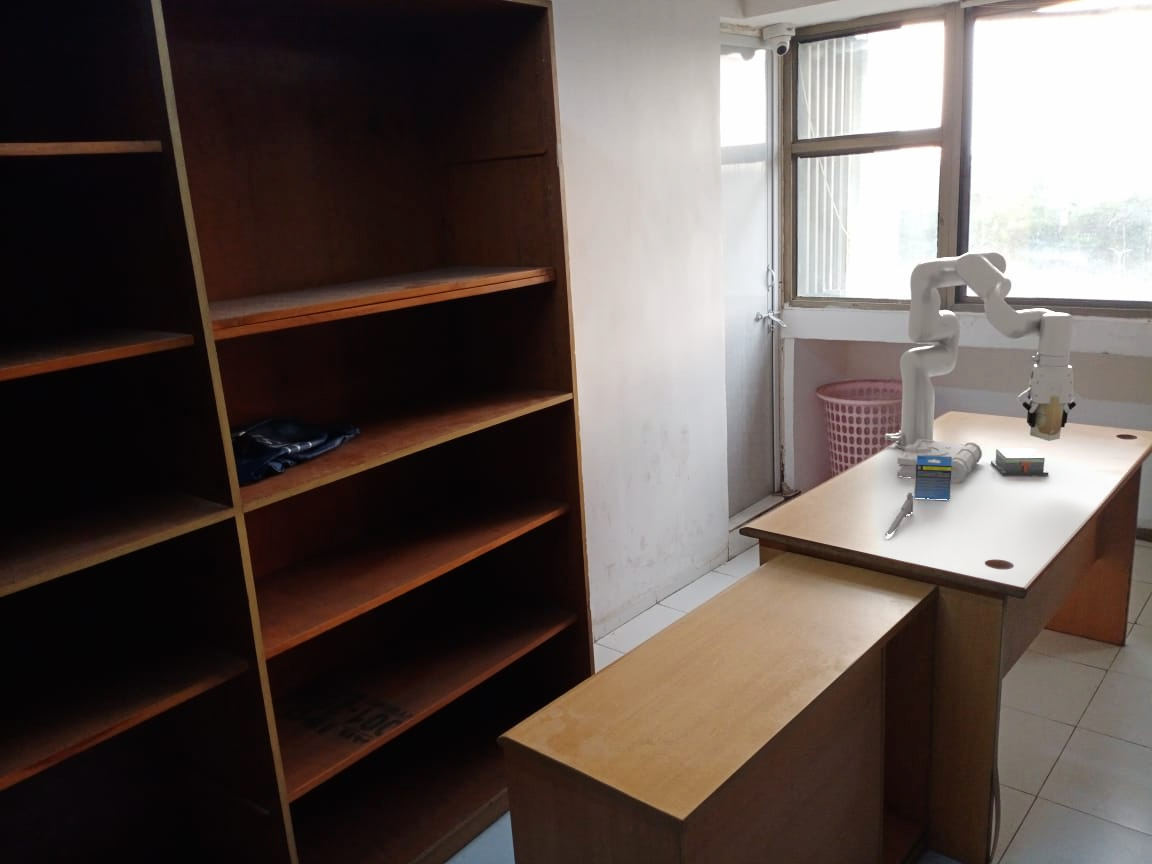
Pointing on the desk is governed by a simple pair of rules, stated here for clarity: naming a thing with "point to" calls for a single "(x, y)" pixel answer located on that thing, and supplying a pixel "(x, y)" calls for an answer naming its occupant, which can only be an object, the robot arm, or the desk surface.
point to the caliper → (902, 513)
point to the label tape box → (933, 477)
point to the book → (960, 453)
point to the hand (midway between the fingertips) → (1046, 425)
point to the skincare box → (1048, 420)
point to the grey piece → (1019, 462)
